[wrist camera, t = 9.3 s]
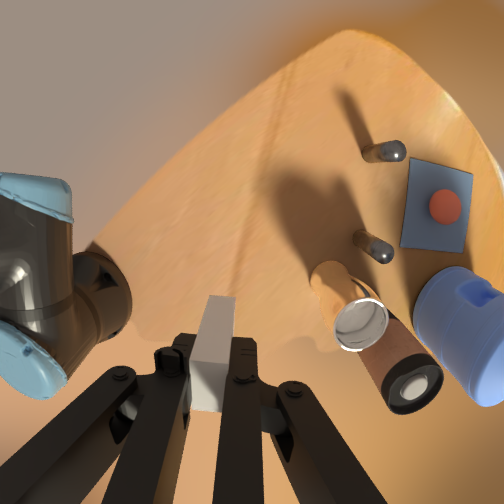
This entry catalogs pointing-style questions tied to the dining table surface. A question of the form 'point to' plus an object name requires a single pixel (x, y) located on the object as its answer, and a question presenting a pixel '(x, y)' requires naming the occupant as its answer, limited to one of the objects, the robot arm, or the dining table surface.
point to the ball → (445, 207)
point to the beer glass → (348, 307)
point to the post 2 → (373, 246)
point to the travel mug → (402, 369)
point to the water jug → (465, 330)
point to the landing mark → (418, 214)
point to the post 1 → (384, 152)
